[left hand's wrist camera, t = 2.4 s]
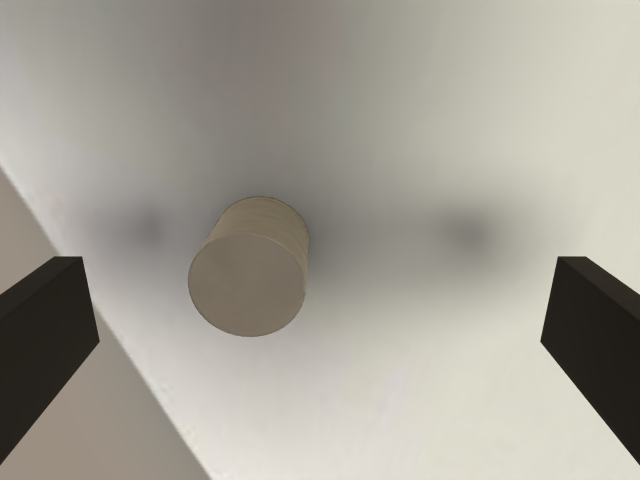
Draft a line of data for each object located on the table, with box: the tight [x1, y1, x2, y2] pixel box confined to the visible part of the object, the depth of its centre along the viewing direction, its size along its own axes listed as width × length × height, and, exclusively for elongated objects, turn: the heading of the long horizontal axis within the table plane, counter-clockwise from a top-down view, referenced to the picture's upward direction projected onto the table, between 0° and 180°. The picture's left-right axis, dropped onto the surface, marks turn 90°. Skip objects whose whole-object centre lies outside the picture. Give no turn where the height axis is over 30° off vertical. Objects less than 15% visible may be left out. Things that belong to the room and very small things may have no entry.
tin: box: [188, 197, 309, 337], centre depth 17 cm, size 4×4×4 cm
